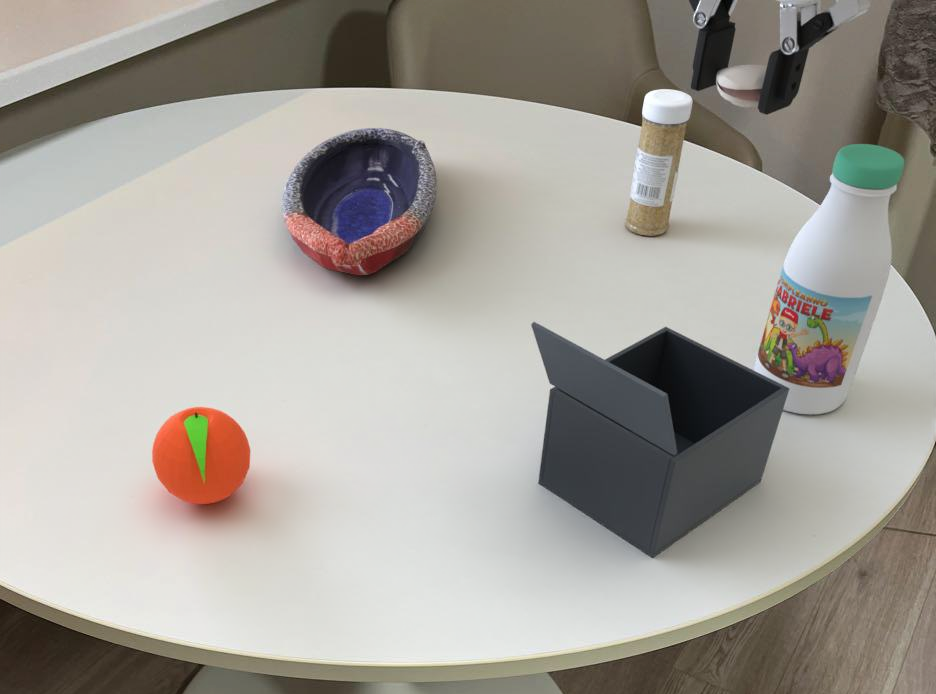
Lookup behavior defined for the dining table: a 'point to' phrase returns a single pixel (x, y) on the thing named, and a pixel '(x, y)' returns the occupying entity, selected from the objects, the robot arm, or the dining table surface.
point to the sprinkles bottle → (657, 161)
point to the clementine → (201, 455)
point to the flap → (607, 388)
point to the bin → (652, 468)
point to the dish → (360, 199)
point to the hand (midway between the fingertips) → (740, 94)
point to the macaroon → (741, 84)
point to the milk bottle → (832, 284)
